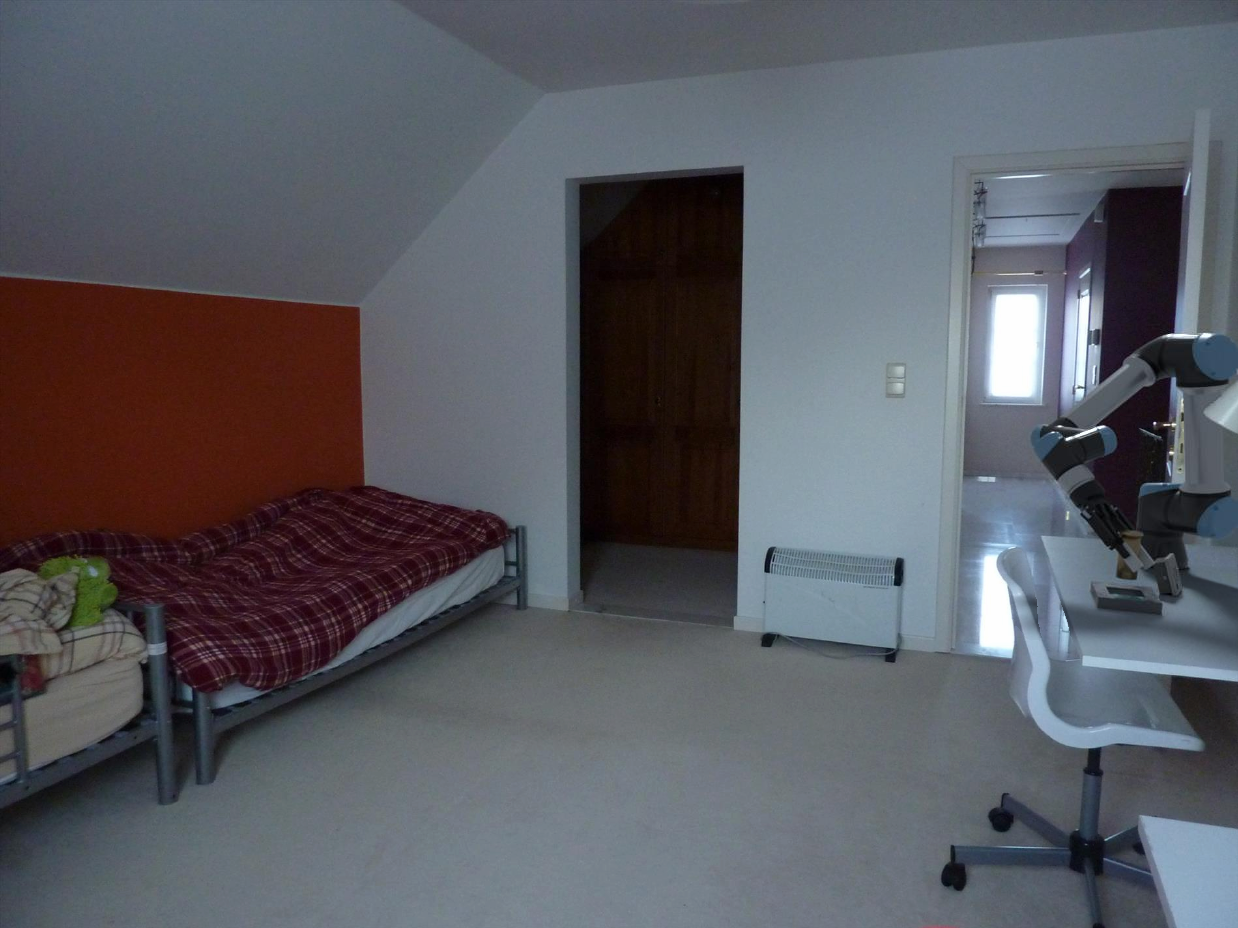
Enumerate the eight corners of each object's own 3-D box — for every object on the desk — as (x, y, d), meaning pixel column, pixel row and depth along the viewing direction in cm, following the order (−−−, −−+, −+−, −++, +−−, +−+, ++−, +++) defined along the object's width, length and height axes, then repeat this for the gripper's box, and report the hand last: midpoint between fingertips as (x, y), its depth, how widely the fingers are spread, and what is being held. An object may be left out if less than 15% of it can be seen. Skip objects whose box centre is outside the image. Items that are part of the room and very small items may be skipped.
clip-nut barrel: (1124, 574, 220) (1128, 529, 219) (1144, 579, 215) (1148, 533, 214) (1108, 575, 218) (1113, 530, 217) (1128, 581, 213) (1132, 534, 212)
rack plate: (1090, 590, 227) (1091, 580, 227) (1150, 597, 222) (1151, 586, 222) (1097, 607, 212) (1098, 595, 212) (1161, 614, 208) (1162, 602, 207)
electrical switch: (1176, 597, 223) (1176, 559, 222) (1152, 595, 226) (1151, 558, 226) (1182, 590, 230) (1182, 553, 230) (1158, 588, 234) (1158, 552, 233)
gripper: (1090, 494, 232) (1151, 572, 220) (1050, 499, 222) (1111, 580, 211) (1113, 476, 227) (1176, 554, 215) (1073, 480, 217) (1137, 563, 206)
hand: (1144, 567), depth 213 cm, fingers closed on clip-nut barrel, 4 cm apart
